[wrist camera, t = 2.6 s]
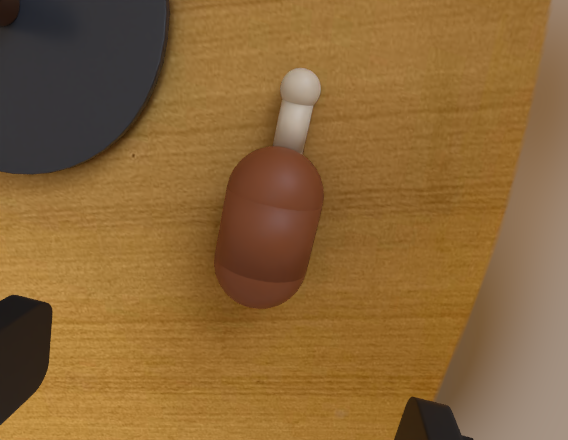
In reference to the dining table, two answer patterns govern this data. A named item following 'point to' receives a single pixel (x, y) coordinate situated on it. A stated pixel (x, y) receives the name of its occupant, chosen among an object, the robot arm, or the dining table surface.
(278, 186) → the drumstick
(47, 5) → the lid
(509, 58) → the dining table surface
